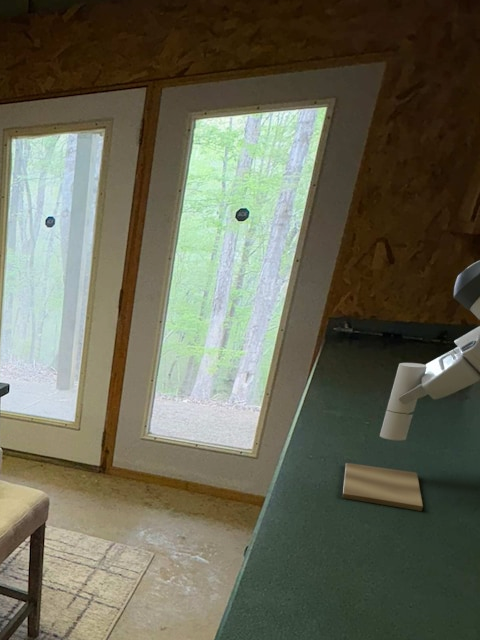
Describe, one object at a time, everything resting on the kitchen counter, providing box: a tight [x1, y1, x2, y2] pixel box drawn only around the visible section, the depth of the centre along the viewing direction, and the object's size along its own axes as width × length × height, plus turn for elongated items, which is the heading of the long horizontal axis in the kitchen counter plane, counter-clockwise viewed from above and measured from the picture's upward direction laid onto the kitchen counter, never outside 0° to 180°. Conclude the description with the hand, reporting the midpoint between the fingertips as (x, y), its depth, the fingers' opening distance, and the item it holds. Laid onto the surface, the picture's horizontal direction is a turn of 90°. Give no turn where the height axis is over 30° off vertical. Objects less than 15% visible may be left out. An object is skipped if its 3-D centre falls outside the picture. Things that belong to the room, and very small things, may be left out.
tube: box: [379, 362, 427, 441], centre depth 126 cm, size 4×4×15 cm
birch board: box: [341, 462, 424, 512], centre depth 125 cm, size 20×12×1 cm, turn 144°
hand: (400, 398), depth 126 cm, fingers closed on tube, 4 cm apart
